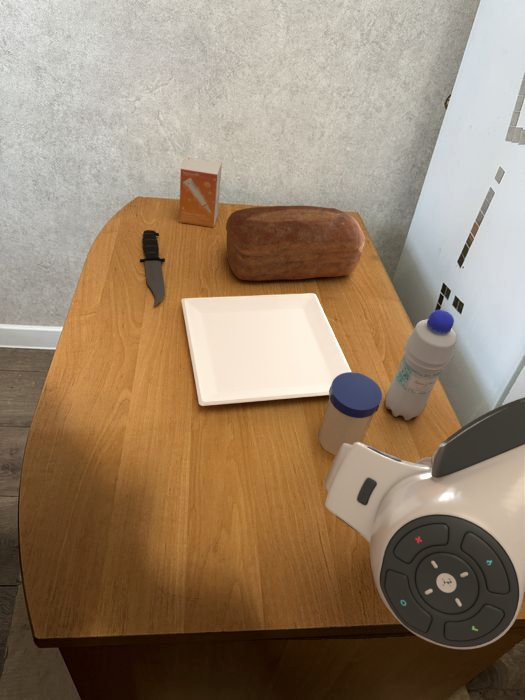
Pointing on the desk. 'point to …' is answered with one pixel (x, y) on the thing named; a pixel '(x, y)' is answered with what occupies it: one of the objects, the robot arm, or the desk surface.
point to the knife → (153, 265)
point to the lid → (355, 395)
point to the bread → (292, 242)
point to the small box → (199, 191)
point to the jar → (341, 429)
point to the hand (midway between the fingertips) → (427, 500)
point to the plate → (261, 348)
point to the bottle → (421, 364)
